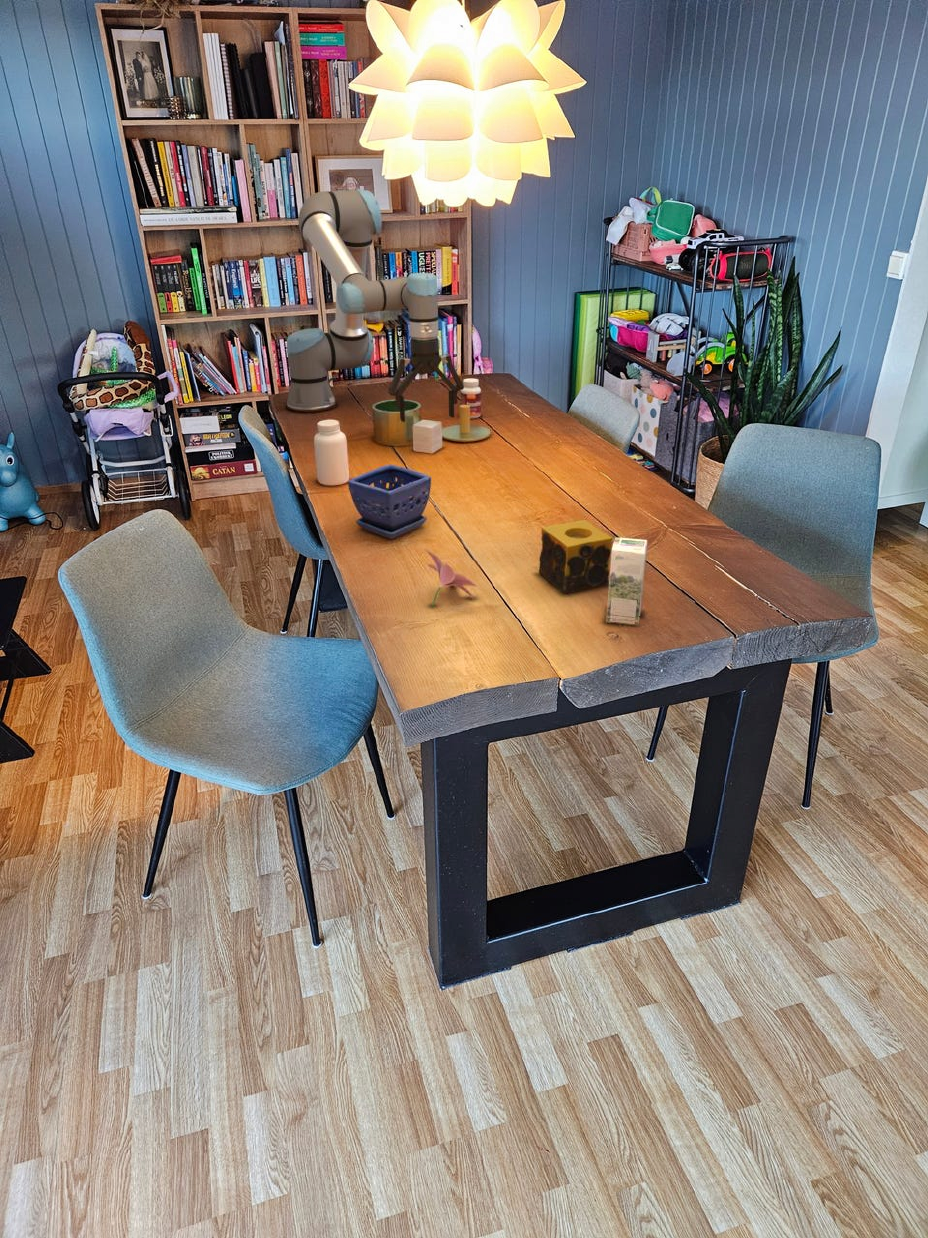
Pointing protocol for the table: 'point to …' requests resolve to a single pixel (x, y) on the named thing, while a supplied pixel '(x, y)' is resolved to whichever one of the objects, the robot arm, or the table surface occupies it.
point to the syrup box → (626, 580)
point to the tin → (395, 422)
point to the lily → (449, 576)
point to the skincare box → (427, 436)
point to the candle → (575, 556)
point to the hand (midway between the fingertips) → (427, 418)
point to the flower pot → (390, 500)
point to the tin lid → (465, 428)
